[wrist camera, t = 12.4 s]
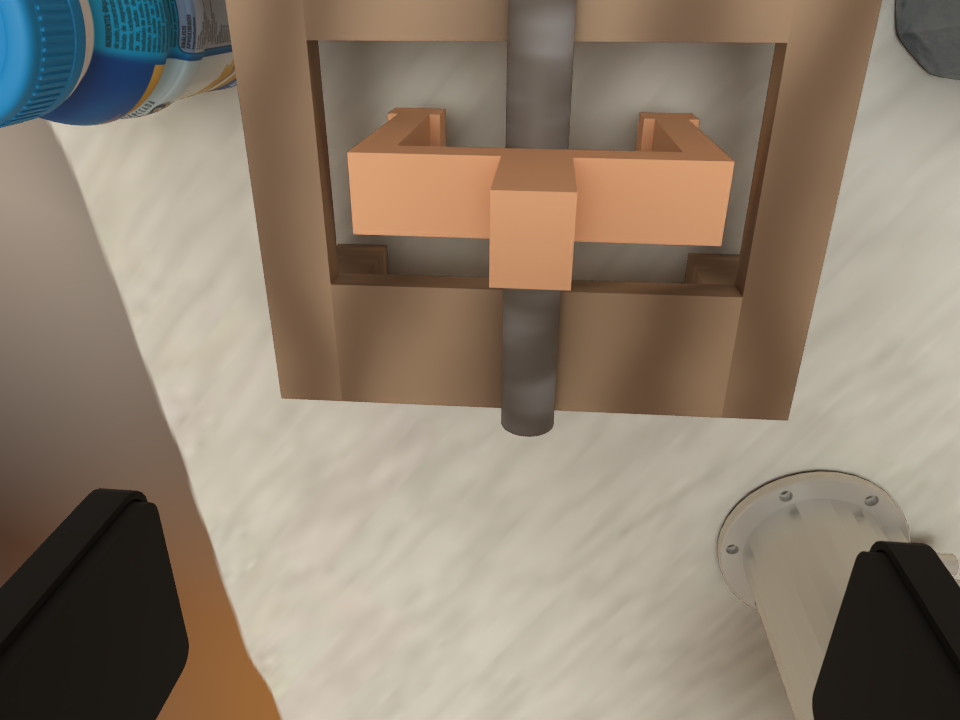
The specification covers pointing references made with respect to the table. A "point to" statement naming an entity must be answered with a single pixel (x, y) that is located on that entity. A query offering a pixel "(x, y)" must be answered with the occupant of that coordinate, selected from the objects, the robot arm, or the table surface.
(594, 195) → the tabbed u-shaped bracket
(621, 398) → the shelf
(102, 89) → the beverage bottle
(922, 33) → the moka pot
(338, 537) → the table surface
